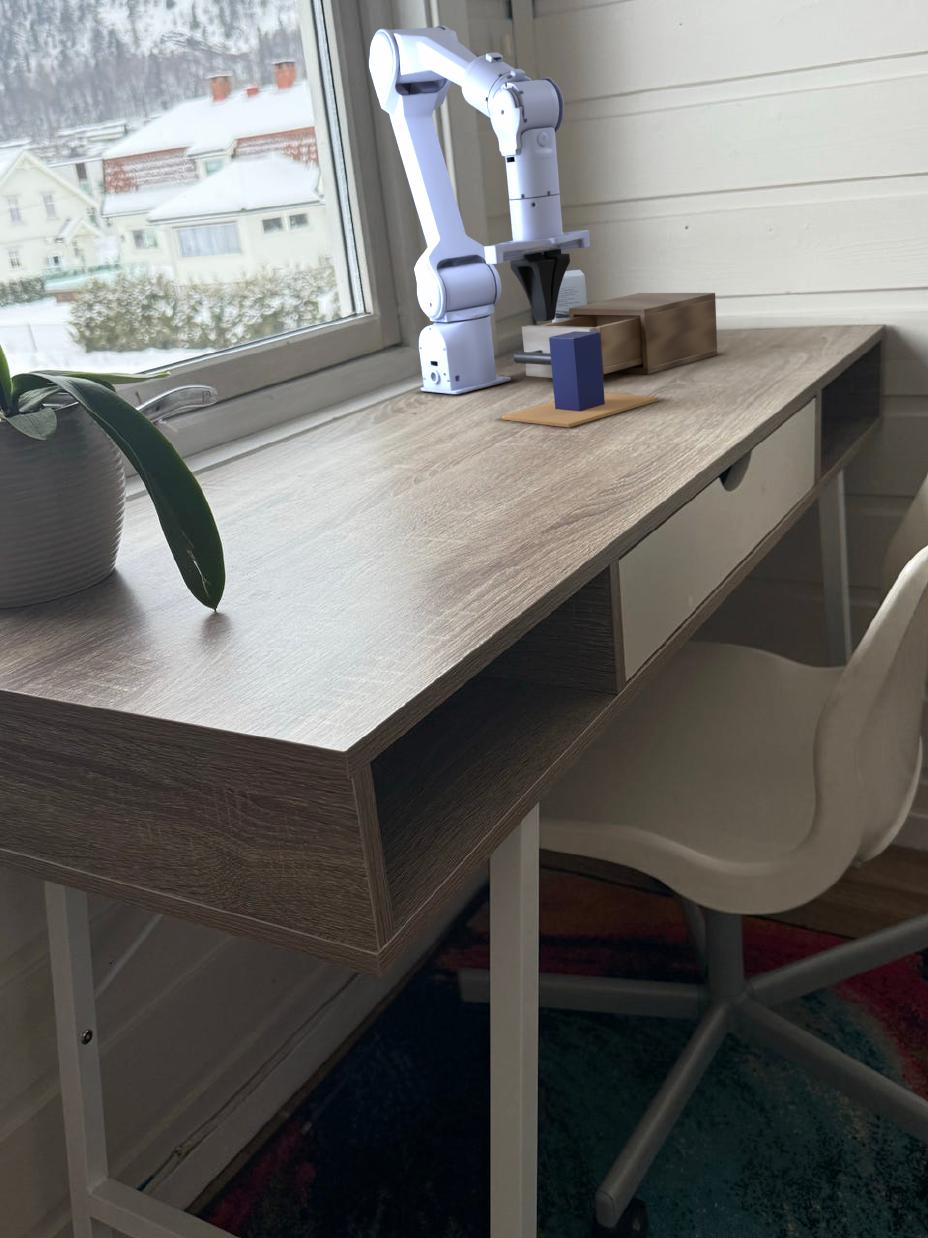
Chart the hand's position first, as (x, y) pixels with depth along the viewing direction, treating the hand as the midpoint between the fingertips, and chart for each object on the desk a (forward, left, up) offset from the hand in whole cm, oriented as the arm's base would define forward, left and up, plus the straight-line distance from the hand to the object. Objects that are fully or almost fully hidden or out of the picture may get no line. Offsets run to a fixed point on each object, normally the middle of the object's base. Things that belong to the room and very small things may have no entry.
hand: (544, 320), depth 134 cm
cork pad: (-3, -8, -9) cm, 13 cm away
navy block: (-3, -8, -9) cm, 13 cm away
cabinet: (+23, +6, -9) cm, 25 cm away
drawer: (+11, +6, -8) cm, 15 cm away
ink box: (+24, +21, -10) cm, 33 cm away
